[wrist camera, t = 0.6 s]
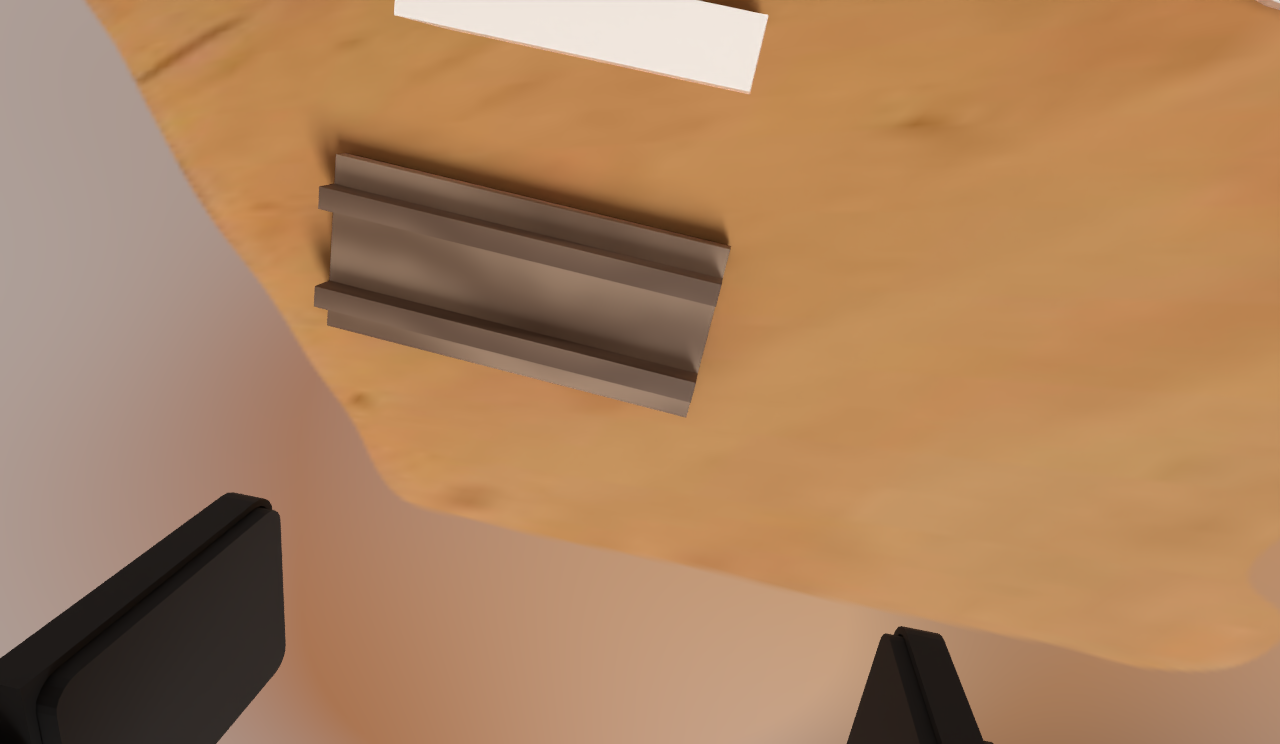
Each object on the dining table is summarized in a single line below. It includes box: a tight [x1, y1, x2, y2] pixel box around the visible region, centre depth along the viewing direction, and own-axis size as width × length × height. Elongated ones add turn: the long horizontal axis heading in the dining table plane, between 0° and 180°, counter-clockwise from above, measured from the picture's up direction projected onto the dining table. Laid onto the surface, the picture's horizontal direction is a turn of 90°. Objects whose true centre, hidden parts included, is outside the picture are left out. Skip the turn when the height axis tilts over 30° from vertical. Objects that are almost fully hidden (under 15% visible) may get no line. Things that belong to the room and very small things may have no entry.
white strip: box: [394, 0, 768, 94], centre depth 33 cm, size 3×16×6 cm, turn 78°
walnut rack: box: [314, 153, 731, 417], centre depth 40 cm, size 10×22×2 cm, turn 78°
